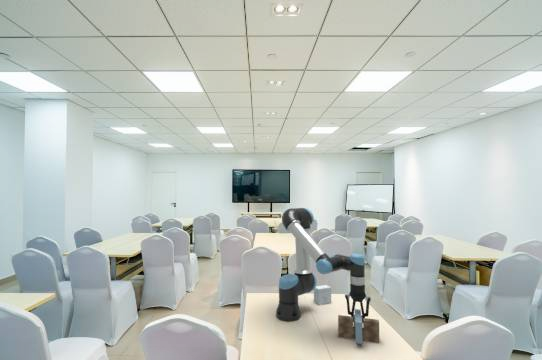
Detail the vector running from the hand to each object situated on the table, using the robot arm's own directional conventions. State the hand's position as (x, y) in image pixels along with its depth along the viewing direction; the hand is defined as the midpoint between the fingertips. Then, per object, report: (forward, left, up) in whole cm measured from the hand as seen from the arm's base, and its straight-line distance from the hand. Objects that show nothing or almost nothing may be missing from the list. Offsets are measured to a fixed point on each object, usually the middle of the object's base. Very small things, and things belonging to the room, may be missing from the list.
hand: (358, 328), depth 148 cm
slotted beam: (0, -5, -3) cm, 6 cm away
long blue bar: (0, -6, -1) cm, 6 cm away
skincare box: (-22, +38, -3) cm, 44 cm away
